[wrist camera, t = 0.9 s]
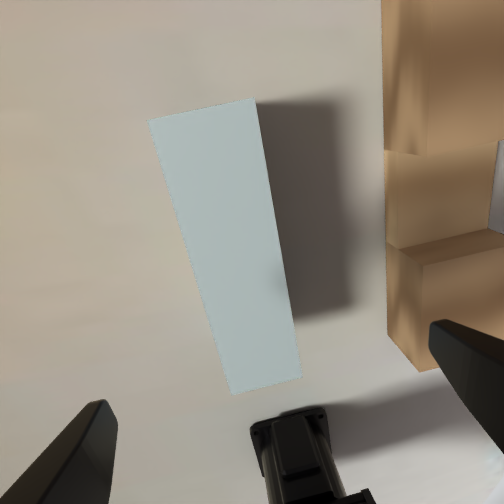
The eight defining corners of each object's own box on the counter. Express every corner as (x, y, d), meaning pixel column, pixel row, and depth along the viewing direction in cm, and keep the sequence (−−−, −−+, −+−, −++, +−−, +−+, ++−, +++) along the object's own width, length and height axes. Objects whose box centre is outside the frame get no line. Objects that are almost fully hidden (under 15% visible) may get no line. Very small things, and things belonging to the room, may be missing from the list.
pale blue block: (279, 315, 23) (302, 377, 17) (225, 328, 23) (231, 395, 17) (239, 104, 17) (254, 97, 12) (166, 119, 17) (146, 120, 11)
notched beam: (460, 316, 25) (504, 350, 21) (387, 334, 24) (419, 372, 21) (494, -39, 16) (580, -86, 12) (380, -17, 16) (434, -58, 12)
